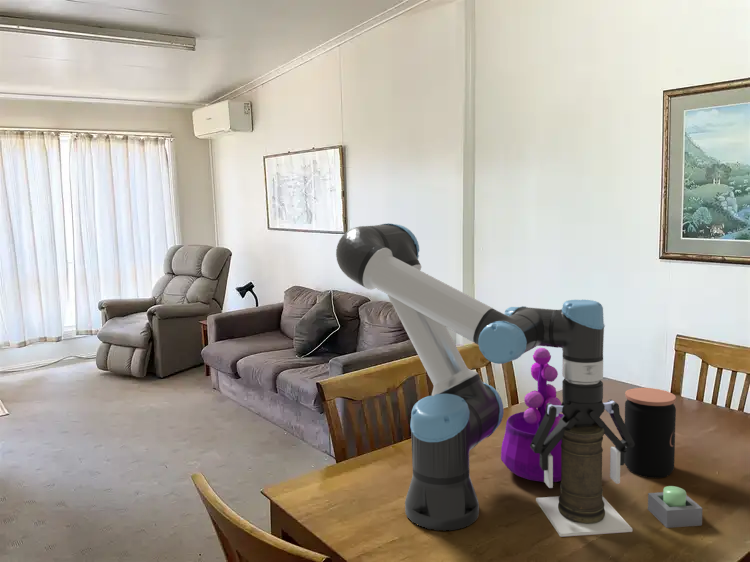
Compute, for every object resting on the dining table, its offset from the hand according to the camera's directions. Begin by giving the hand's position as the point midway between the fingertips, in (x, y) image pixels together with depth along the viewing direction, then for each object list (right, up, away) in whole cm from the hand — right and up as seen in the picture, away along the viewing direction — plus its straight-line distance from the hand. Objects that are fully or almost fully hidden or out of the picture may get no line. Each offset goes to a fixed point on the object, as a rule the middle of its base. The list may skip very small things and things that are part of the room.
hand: (581, 482), depth 119 cm
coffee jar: (+23, -4, +20) cm, 30 cm away
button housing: (+18, -6, -1) cm, 19 cm away
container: (0, -6, +1) cm, 6 cm away
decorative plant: (-2, -5, +20) cm, 20 cm away
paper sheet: (0, -7, +1) cm, 7 cm away
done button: (+18, -6, -1) cm, 19 cm away
